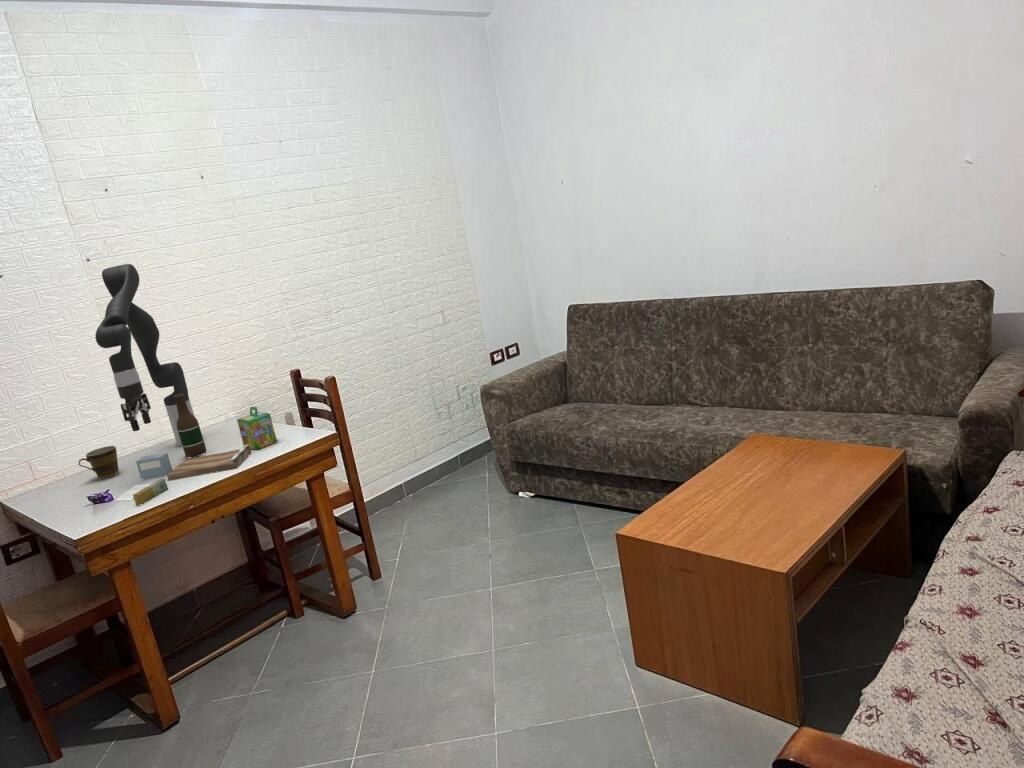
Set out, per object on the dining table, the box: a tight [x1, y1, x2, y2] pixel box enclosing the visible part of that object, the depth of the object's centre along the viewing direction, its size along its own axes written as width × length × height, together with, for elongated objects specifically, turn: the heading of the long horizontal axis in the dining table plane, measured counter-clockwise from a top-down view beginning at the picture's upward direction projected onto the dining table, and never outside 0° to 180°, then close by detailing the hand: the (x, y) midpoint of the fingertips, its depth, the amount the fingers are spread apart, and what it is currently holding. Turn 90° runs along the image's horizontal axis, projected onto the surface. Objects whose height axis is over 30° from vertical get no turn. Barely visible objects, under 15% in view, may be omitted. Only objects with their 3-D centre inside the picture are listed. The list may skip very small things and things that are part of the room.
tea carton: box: [135, 452, 173, 480], centre depth 259 cm, size 5×9×7 cm, turn 91°
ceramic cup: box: [78, 445, 120, 480], centre depth 268 cm, size 13×10×10 cm
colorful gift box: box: [236, 406, 278, 451], centre depth 272 cm, size 9×9×15 cm
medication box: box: [132, 478, 169, 506], centre depth 236 cm, size 12×3×4 cm, turn 164°
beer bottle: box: [174, 393, 207, 458], centre depth 275 cm, size 8×8×24 cm
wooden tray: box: [166, 445, 252, 481], centre depth 258 cm, size 16×24×3 cm, turn 91°
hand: (142, 427), depth 256 cm, fingers open, 8 cm apart
